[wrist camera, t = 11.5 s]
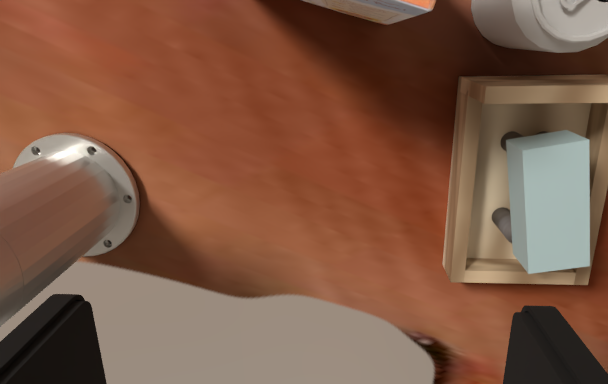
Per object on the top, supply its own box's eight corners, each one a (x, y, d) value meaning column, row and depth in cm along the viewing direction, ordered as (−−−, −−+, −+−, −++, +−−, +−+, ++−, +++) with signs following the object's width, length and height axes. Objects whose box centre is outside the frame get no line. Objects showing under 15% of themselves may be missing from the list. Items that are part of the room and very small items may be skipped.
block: (506, 139, 36) (522, 150, 33) (566, 129, 36) (589, 139, 32) (512, 253, 39) (528, 274, 36) (568, 246, 39) (589, 266, 35)
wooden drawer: (442, 264, 46) (462, 309, 38) (458, 76, 40) (486, 86, 32) (569, 266, 45) (615, 313, 37) (605, 74, 39) (668, 84, 31)
